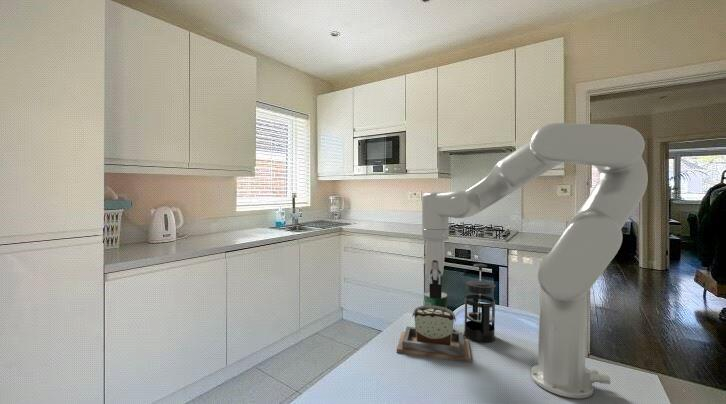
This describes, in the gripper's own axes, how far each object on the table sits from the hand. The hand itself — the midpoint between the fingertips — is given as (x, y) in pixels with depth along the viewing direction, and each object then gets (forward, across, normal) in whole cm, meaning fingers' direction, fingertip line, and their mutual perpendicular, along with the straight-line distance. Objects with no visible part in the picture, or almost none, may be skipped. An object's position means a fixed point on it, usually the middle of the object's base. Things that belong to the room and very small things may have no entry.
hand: (435, 293), depth 92 cm
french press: (+16, -11, +13) cm, 24 cm away
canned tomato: (+16, -16, -1) cm, 23 cm away
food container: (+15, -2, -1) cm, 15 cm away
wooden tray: (+16, 0, -1) cm, 16 cm away
